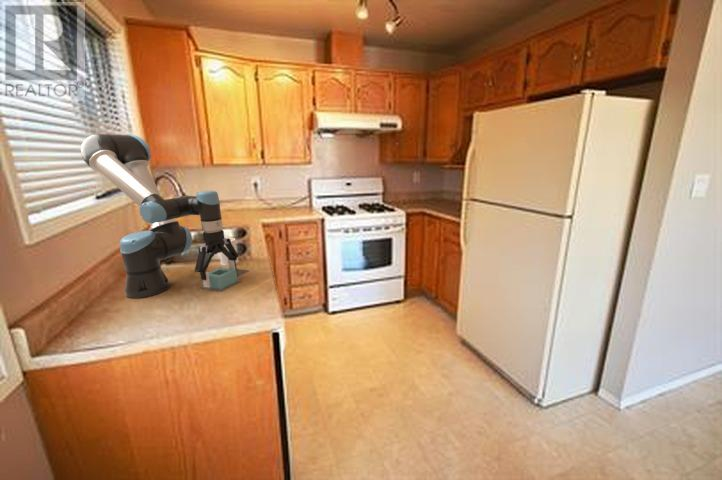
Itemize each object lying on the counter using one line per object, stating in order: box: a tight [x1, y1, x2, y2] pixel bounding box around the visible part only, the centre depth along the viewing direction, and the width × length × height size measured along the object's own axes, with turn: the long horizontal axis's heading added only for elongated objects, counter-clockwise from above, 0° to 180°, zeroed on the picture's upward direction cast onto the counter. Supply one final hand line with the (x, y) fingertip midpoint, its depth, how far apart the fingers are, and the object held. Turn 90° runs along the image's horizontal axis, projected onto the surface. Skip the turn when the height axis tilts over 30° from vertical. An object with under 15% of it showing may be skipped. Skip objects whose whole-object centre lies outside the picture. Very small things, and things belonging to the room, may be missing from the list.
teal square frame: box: [208, 267, 239, 289], centre depth 132 cm, size 9×9×5 cm
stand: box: [228, 258, 250, 278], centre depth 145 cm, size 10×10×9 cm
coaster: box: [200, 279, 242, 293], centre depth 133 cm, size 11×11×1 cm
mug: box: [219, 237, 240, 266], centre depth 158 cm, size 12×8×12 cm
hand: (220, 280), depth 133 cm, fingers open, 13 cm apart
